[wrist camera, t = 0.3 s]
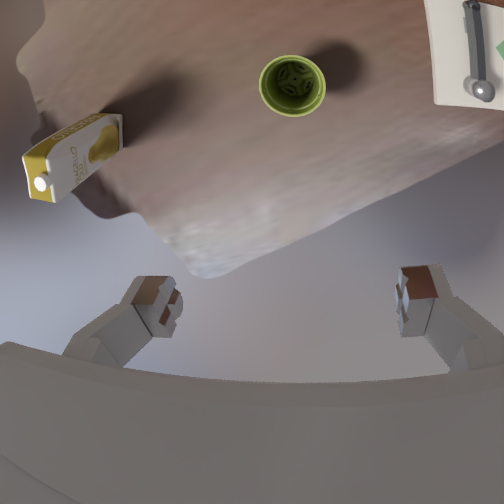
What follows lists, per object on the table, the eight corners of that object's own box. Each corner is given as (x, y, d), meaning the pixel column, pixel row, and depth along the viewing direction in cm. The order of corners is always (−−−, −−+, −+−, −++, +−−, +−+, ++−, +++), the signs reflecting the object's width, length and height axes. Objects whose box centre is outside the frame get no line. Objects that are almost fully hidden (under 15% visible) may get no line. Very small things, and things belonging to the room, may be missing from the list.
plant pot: (310, 114, 51) (309, 127, 44) (258, 92, 50) (249, 102, 43) (332, 67, 45) (336, 72, 38) (278, 44, 44) (273, 45, 37)
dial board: (422, -6, 33) (425, -7, 32) (507, 10, 28) (512, 10, 27) (434, 102, 44) (437, 104, 43) (513, 109, 40) (517, 112, 39)
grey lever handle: (480, 96, 39) (495, 103, 35) (463, 94, 40) (477, 101, 36) (472, 2, 30) (488, 1, 25) (454, -1, 30) (469, -3, 26)
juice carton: (127, 152, 61) (55, 213, 42) (96, 149, 61) (23, 206, 42) (126, 109, 55) (45, 157, 36) (94, 108, 55) (11, 154, 36)
